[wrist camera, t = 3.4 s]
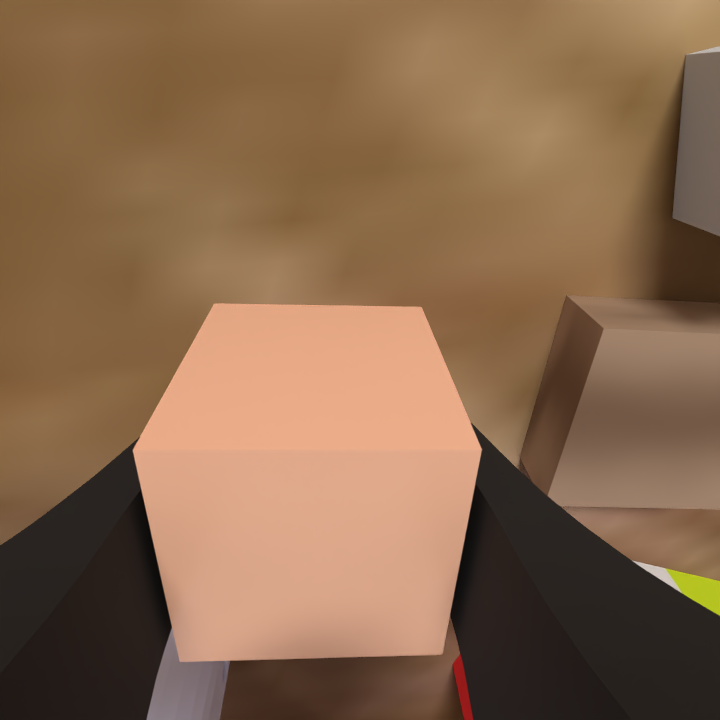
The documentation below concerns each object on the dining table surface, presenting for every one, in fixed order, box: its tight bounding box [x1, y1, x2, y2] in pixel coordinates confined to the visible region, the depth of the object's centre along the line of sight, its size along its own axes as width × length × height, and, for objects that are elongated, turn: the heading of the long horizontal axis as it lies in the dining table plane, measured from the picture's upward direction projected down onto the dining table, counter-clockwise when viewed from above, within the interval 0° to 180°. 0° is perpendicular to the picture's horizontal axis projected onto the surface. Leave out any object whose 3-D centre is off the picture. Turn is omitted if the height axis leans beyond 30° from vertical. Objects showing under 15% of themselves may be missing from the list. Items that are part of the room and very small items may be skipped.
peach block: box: [133, 304, 482, 662], centre depth 10 cm, size 4×4×5 cm
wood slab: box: [520, 295, 720, 509], centre depth 18 cm, size 7×7×3 cm
